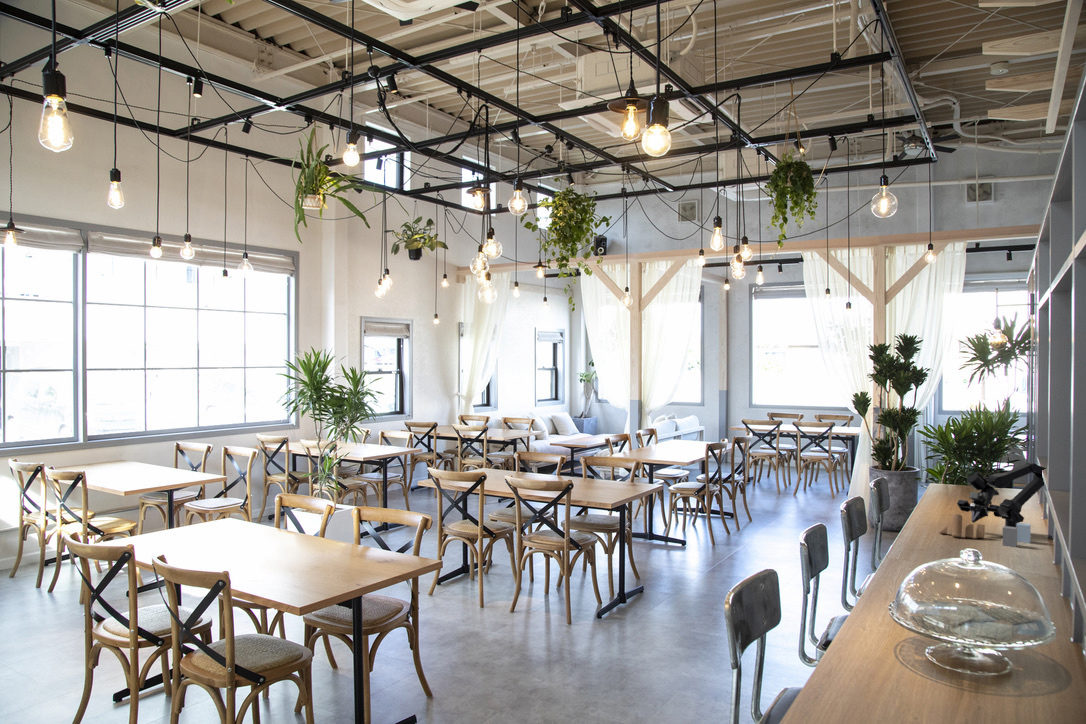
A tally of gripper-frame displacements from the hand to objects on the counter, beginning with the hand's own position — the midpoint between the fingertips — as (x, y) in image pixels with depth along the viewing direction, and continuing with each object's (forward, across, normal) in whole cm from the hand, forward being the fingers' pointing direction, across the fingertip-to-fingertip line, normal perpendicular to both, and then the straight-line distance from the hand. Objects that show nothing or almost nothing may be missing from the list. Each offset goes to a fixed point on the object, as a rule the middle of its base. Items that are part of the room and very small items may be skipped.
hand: (972, 521), depth 340 cm
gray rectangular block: (+8, +19, +1) cm, 20 cm away
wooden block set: (+10, -1, 0) cm, 10 cm away
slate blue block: (-2, +18, +11) cm, 21 cm away
